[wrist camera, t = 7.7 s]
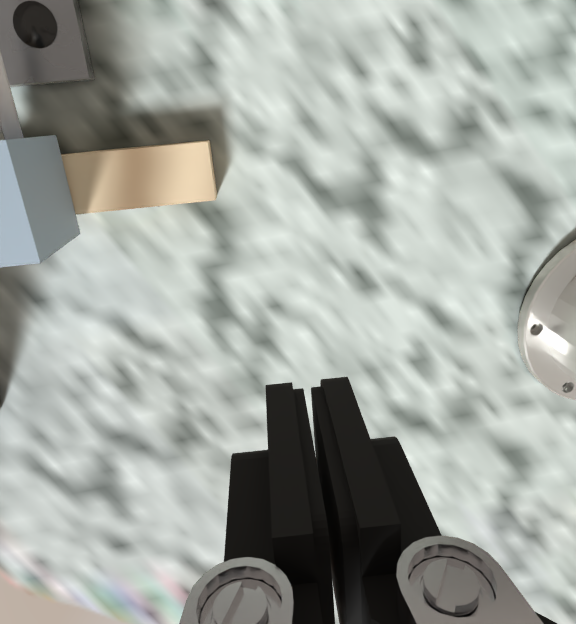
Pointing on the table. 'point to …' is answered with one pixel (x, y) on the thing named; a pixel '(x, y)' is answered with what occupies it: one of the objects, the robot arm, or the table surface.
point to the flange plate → (43, 42)
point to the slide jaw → (31, 191)
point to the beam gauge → (140, 176)
